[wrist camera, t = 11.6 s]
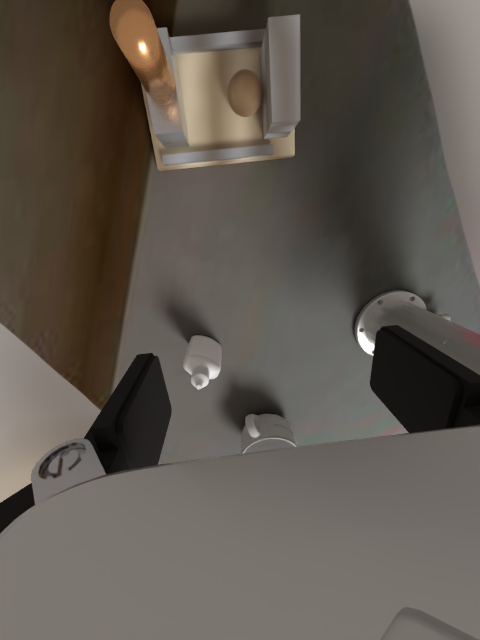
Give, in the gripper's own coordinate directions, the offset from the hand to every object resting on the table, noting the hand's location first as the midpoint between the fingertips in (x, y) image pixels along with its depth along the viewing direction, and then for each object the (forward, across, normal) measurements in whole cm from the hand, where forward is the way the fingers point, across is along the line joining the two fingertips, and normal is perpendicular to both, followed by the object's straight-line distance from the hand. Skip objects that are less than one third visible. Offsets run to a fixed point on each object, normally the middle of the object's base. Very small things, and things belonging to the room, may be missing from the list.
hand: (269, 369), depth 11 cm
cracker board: (+30, 0, -19) cm, 36 cm away
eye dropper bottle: (+31, +7, +14) cm, 34 cm away
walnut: (+29, -2, -19) cm, 35 cm away
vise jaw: (+28, +6, -19) cm, 35 cm away
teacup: (+31, -2, +33) cm, 45 cm away
